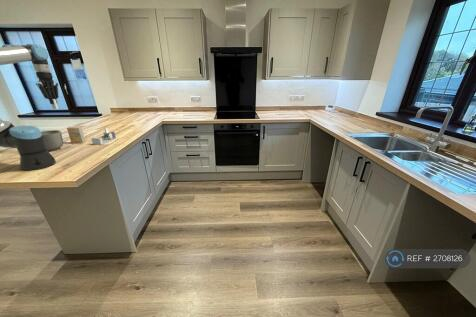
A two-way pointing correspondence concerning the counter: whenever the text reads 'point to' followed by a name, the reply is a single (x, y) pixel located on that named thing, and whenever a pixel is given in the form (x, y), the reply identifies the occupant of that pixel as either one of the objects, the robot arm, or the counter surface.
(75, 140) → the supplement box
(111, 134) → the marker sleeve
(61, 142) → the planter
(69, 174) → the counter surface
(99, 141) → the cord rig
